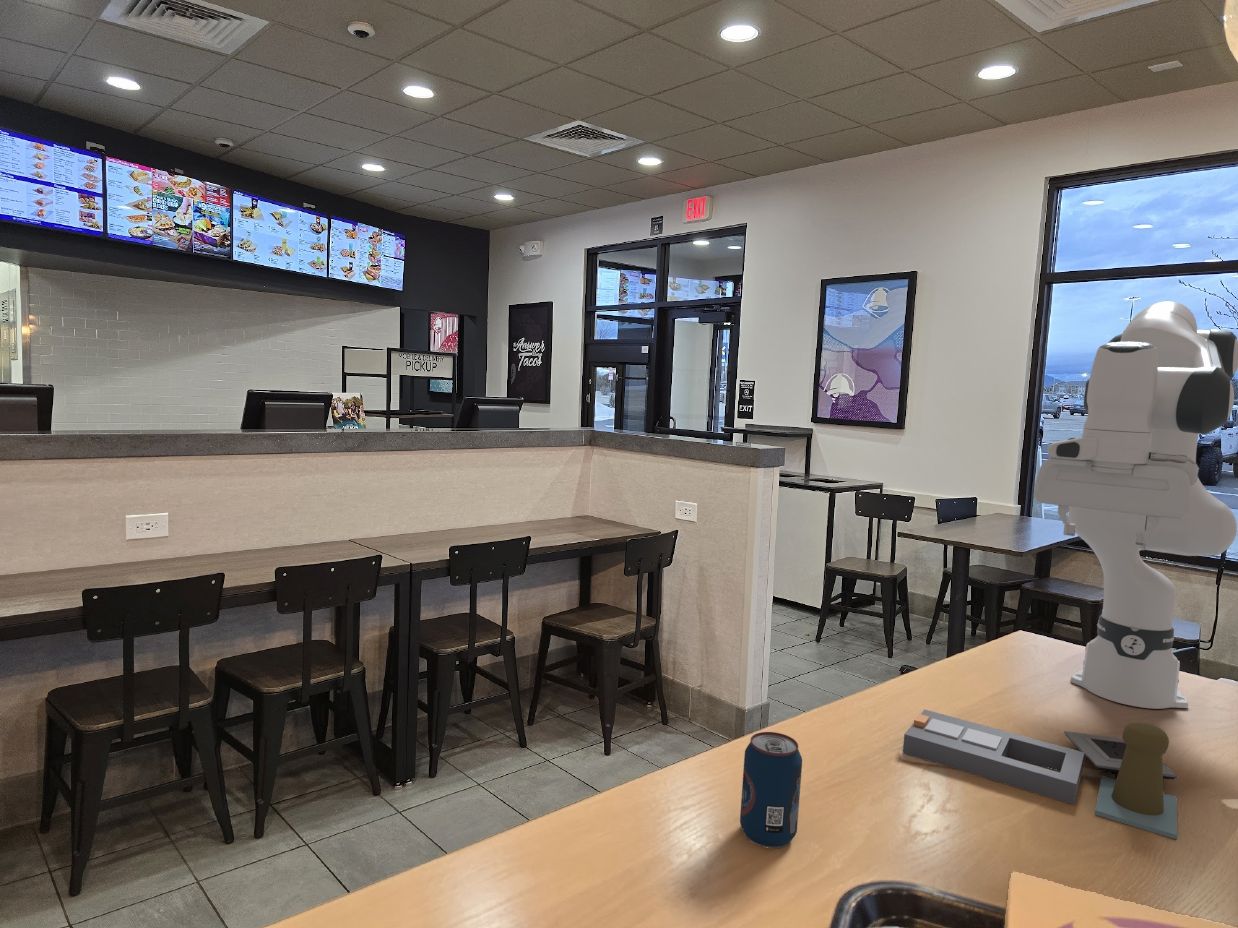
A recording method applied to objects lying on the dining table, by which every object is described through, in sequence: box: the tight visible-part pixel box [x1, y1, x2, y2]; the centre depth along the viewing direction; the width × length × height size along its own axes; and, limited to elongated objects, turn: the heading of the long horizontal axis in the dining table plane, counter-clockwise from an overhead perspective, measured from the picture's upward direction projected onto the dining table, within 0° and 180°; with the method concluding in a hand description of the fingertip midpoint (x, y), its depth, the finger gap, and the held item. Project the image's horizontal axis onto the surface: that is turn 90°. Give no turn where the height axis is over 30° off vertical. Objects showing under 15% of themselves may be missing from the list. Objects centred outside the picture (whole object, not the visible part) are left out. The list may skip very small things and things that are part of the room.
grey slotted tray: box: [902, 709, 1085, 806], centre depth 119 cm, size 12×23×4 cm, turn 55°
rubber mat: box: [1094, 775, 1178, 840], centre depth 108 cm, size 12×9×1 cm
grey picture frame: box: [1063, 730, 1178, 780], centre depth 119 cm, size 13×10×2 cm
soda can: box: [739, 731, 803, 849], centre depth 96 cm, size 7×7×12 cm
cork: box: [1111, 721, 1170, 815], centre depth 107 cm, size 6×6×11 cm
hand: (1104, 539), depth 120 cm, fingers open, 8 cm apart
